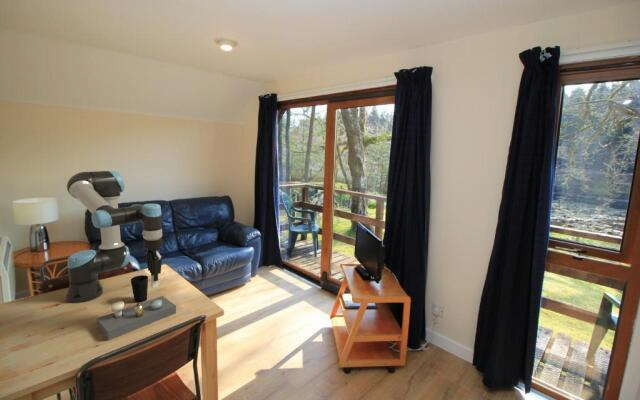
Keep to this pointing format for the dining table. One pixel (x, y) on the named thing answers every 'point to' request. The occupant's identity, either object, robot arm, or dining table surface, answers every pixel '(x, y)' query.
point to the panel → (134, 318)
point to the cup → (140, 288)
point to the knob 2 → (156, 304)
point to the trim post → (138, 310)
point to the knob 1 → (117, 309)
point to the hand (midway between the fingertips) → (155, 286)
